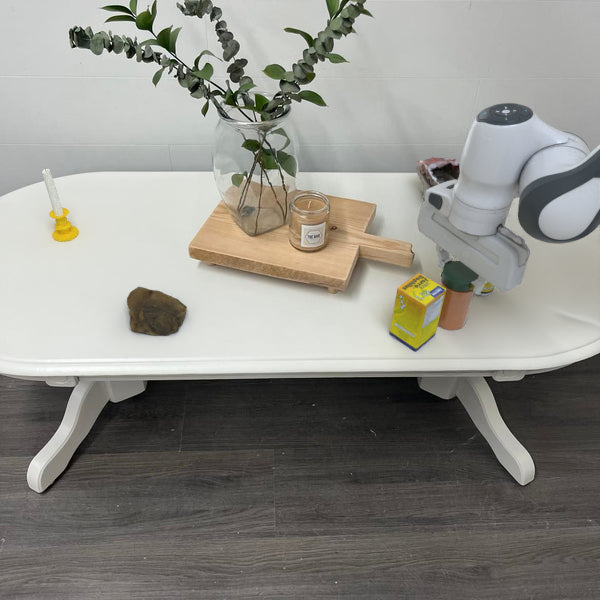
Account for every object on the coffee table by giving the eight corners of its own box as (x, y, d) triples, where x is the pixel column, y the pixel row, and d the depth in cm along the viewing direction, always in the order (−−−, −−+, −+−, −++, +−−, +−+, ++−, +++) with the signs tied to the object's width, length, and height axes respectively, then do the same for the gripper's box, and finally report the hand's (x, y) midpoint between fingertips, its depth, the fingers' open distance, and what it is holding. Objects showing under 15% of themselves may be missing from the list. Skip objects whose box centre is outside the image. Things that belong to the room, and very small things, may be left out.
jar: (471, 328, 102) (484, 284, 95) (438, 332, 101) (449, 288, 94) (458, 304, 106) (470, 261, 99) (427, 308, 105) (437, 265, 98)
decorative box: (417, 234, 123) (425, 195, 116) (397, 185, 137) (403, 148, 131) (477, 232, 124) (488, 193, 117) (451, 184, 138) (459, 147, 132)
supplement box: (408, 318, 103) (418, 271, 96) (435, 335, 100) (448, 288, 93) (387, 334, 100) (396, 287, 93) (415, 352, 97) (426, 305, 90)
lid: (459, 263, 100) (461, 256, 99) (484, 283, 97) (487, 275, 95) (433, 276, 98) (435, 268, 97) (459, 296, 94) (461, 288, 93)
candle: (58, 244, 117) (36, 177, 106) (48, 232, 120) (26, 166, 109) (82, 235, 119) (63, 169, 109) (72, 224, 122) (53, 158, 112)
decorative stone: (193, 303, 105) (191, 289, 103) (176, 340, 98) (174, 325, 96) (138, 296, 106) (135, 282, 104) (118, 331, 99) (114, 317, 97)
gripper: (547, 238, 83) (519, 307, 92) (446, 175, 95) (431, 242, 104) (517, 252, 80) (492, 322, 89) (418, 186, 92) (405, 253, 102)
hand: (458, 278), depth 97 cm, fingers closed on lid, 6 cm apart
